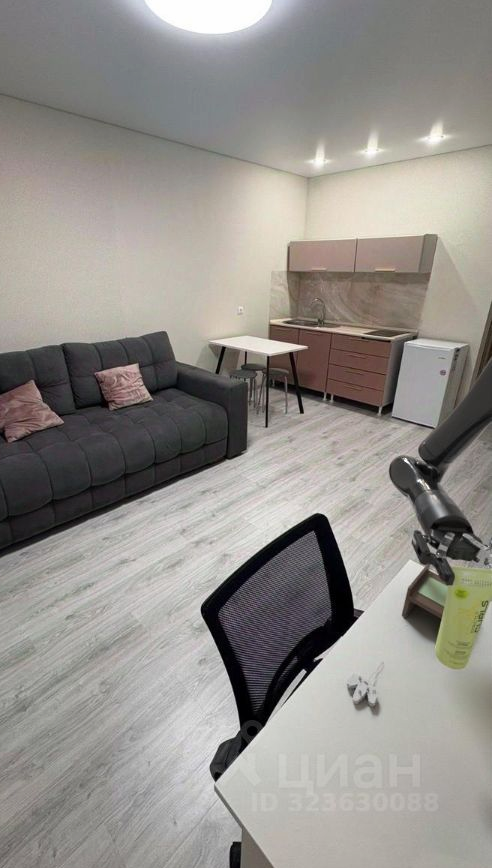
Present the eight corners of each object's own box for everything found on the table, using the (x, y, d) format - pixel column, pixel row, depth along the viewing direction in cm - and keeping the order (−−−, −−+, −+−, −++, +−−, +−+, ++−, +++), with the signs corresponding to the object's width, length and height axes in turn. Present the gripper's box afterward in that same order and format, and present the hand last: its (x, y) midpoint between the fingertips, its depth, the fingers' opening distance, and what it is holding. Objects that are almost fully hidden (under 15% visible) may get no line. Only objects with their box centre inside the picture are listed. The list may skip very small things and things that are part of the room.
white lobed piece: (343, 698, 78) (344, 689, 77) (355, 651, 87) (357, 642, 86) (373, 713, 75) (375, 704, 74) (383, 663, 85) (385, 654, 84)
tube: (454, 678, 65) (485, 586, 58) (425, 654, 69) (450, 564, 62) (472, 660, 68) (504, 570, 61) (443, 638, 72) (469, 551, 65)
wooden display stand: (421, 589, 104) (428, 562, 101) (459, 610, 98) (468, 582, 95) (401, 615, 96) (407, 587, 93) (441, 639, 90) (449, 610, 87)
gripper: (404, 498, 75) (435, 559, 60) (486, 505, 73) (539, 569, 58) (397, 531, 78) (425, 597, 63) (476, 538, 76) (524, 608, 61)
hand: (480, 584), depth 60 cm, fingers closed on tube, 7 cm apart
